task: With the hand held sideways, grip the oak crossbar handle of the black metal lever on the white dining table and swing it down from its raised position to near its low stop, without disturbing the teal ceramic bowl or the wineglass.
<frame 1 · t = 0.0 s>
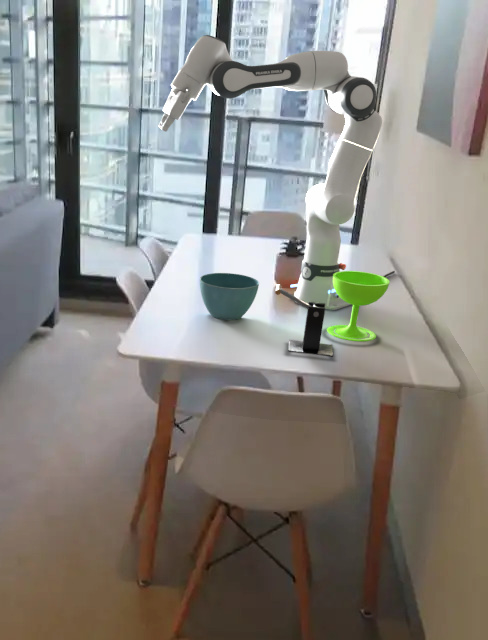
hand: (161, 129, 221), 54 cm above the table, tool tilted 30°, fingers open, 8 cm apart
lever: (298, 300, 197), point 14 cm above the table, hinge at 25.0°
wineglass: (350, 336, 216), on the table
bracket: (309, 351, 202), on the table
teal ceramic bowl: (225, 318, 227), on the table
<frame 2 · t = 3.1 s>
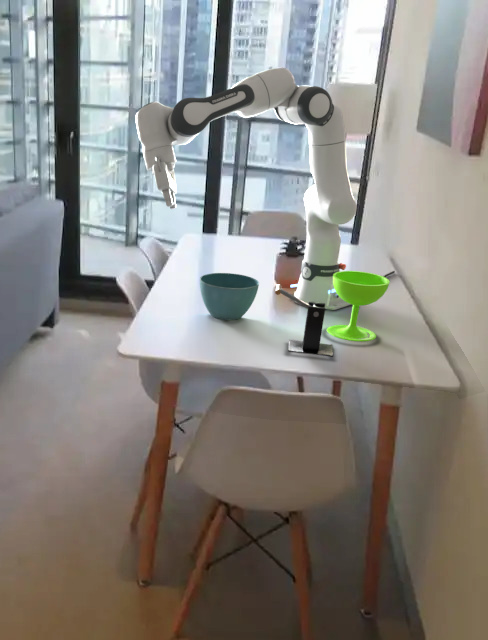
hand: (171, 207, 210), 34 cm above the table, tool tilted 25°, fingers open, 8 cm apart
nothing on the table moved.
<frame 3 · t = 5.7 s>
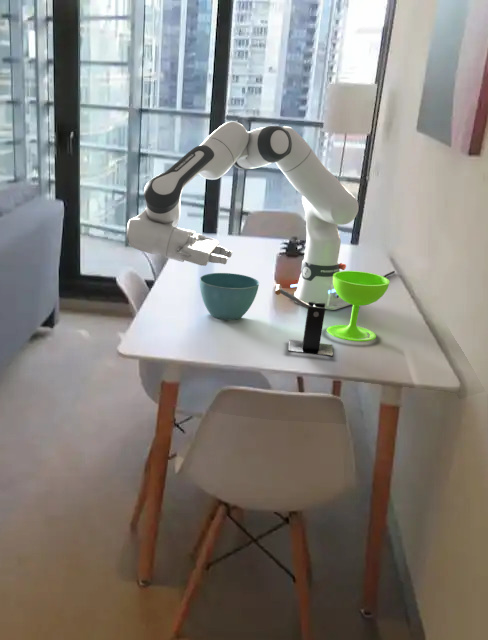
hand: (229, 257, 198), 24 cm above the table, tool horizontal, fingers open, 8 cm apart
nothing on the table moved.
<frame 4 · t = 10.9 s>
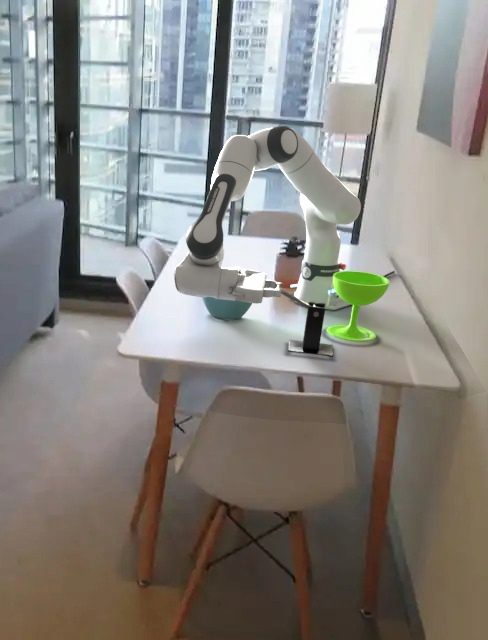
hand: (281, 289, 197), 17 cm above the table, tool horizontal, fingers closed on lever, 6 cm apart
lever: (298, 300, 197), point 14 cm above the table, hinge at 25.0°, touching gripper
everything else where it was.
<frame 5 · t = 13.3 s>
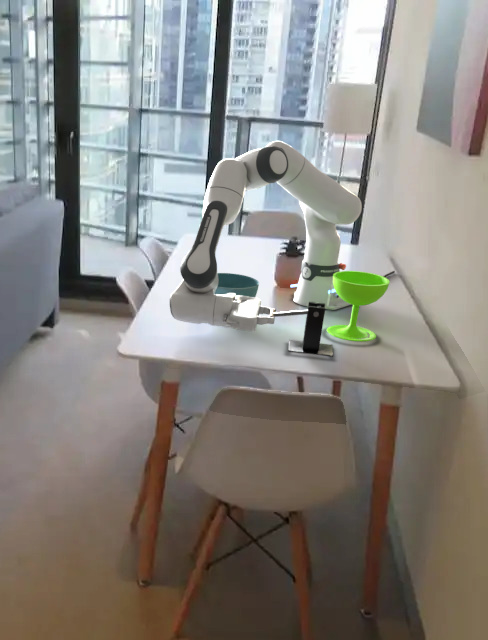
hand: (275, 316, 200), 9 cm above the table, tool horizontal, fingers closed on lever, 6 cm apart
lever: (295, 312, 199), point 11 cm above the table, hinge at -11.6°, touching gripper
everything else where it was.
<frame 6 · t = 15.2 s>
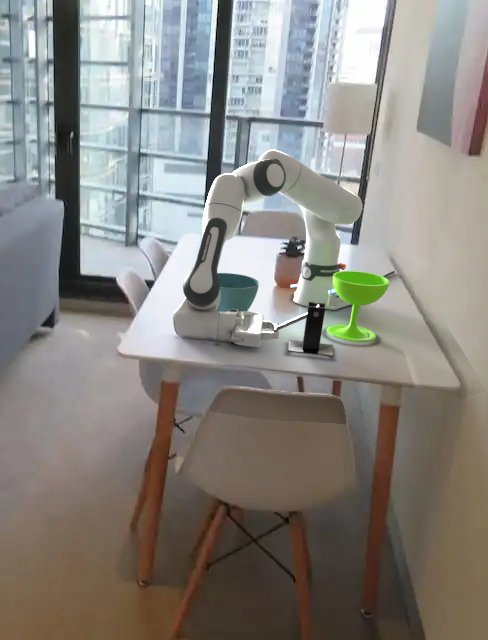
hand: (278, 331, 202), 5 cm above the table, tool horizontal, fingers closed on lever, 6 cm apart
lever: (296, 319, 199), point 9 cm above the table, hinge at -32.2°, touching gripper
everything else where it was.
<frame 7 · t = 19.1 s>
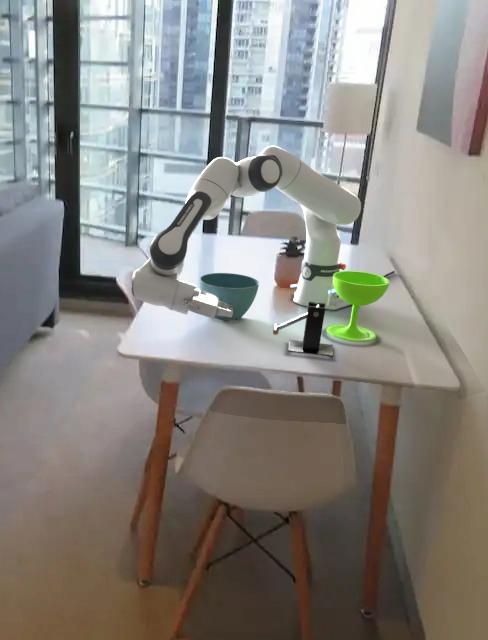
hand: (232, 311, 203), 9 cm above the table, tool horizontal, fingers open, 8 cm apart
lever: (296, 319, 199), point 9 cm above the table, hinge at -32.5°
everything else where it was.
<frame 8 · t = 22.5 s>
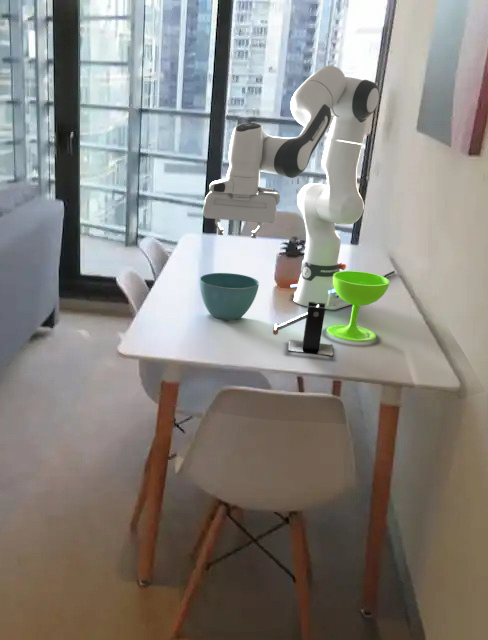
hand: (237, 236, 201), 29 cm above the table, tool pointing down, fingers open, 8 cm apart
nothing on the table moved.
at the end: lever at -32° (first picture: +25°); teal ceramic bowl moved 0.2 cm from its start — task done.
